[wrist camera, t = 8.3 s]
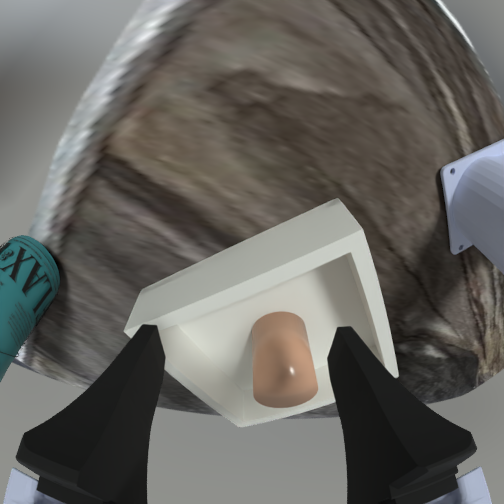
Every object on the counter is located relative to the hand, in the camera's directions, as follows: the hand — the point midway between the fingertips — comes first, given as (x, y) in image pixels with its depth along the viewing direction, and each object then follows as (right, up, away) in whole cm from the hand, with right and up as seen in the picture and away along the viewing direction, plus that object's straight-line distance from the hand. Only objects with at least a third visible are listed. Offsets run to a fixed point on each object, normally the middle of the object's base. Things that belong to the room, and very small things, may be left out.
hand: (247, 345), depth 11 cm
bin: (+2, -2, +12) cm, 13 cm away
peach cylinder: (+2, -3, +12) cm, 12 cm away
